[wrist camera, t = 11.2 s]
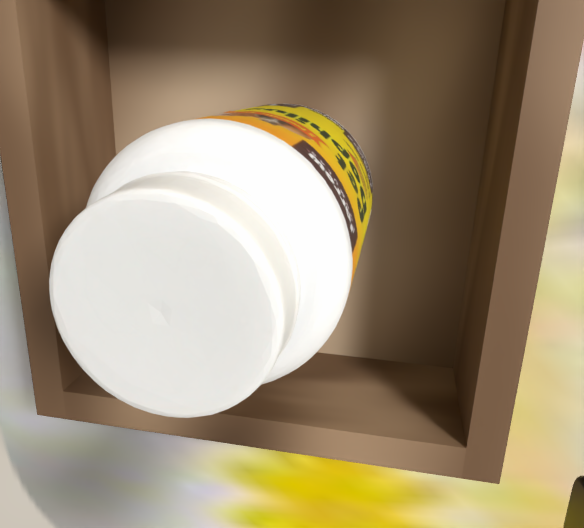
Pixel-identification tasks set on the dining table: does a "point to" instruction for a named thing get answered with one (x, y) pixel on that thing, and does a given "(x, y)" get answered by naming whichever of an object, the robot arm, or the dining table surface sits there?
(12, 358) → the dining table surface
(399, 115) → the walnut box
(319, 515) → the dining table surface
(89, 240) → the supplement bottle
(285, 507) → the dining table surface
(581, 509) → the robot arm
